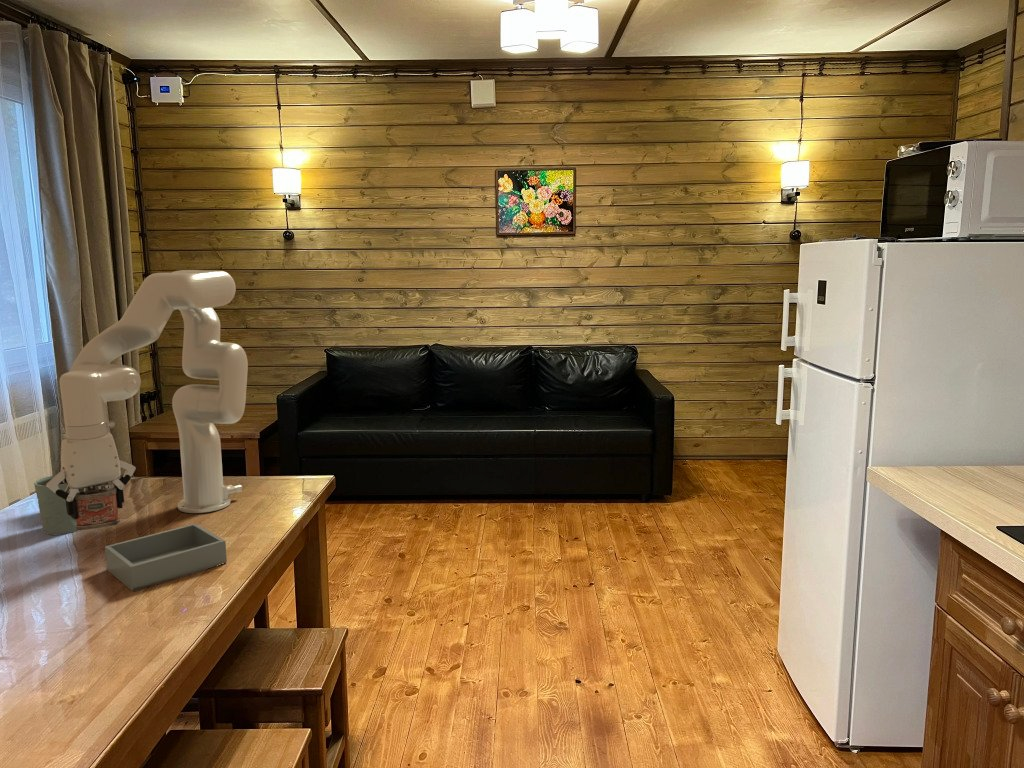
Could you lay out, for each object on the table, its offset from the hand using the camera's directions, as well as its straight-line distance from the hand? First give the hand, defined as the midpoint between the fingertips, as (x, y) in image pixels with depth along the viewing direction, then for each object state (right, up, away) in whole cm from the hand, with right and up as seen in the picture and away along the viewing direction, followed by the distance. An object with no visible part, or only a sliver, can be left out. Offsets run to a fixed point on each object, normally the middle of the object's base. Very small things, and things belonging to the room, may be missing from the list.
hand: (96, 511), depth 155 cm
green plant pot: (-19, -8, +20) cm, 29 cm away
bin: (+15, -11, -1) cm, 19 cm away
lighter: (0, -3, +1) cm, 3 cm away
